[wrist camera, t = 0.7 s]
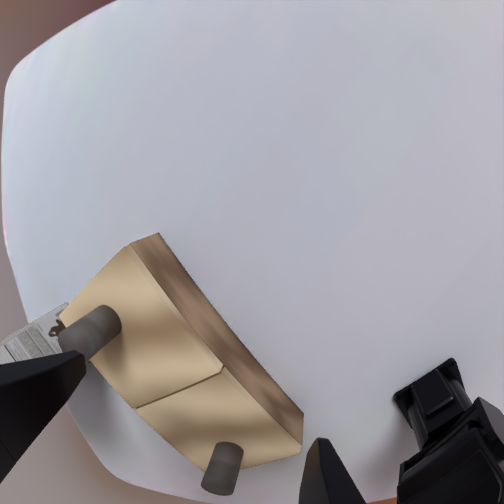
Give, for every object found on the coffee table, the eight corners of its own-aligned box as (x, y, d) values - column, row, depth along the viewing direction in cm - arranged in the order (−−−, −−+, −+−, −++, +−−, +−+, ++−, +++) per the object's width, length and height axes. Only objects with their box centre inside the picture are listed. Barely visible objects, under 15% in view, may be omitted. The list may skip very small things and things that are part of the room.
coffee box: (76, 377, 27) (-5, 454, 12) (43, 337, 27) (-45, 400, 12) (105, 346, 25) (-1, 443, 9) (66, 298, 24) (-53, 369, 9)
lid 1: (223, 364, 18) (200, 415, 13) (136, 403, 21) (108, 440, 16) (130, 244, 17) (79, 265, 12) (64, 312, 20) (24, 337, 15)
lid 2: (301, 445, 19) (298, 494, 14) (210, 469, 21) (196, 507, 17) (225, 366, 18) (202, 417, 13) (138, 404, 21) (110, 442, 16)
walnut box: (303, 413, 23) (302, 445, 19) (221, 441, 25) (211, 468, 22) (158, 232, 21) (130, 242, 17) (91, 294, 24) (64, 311, 20)
